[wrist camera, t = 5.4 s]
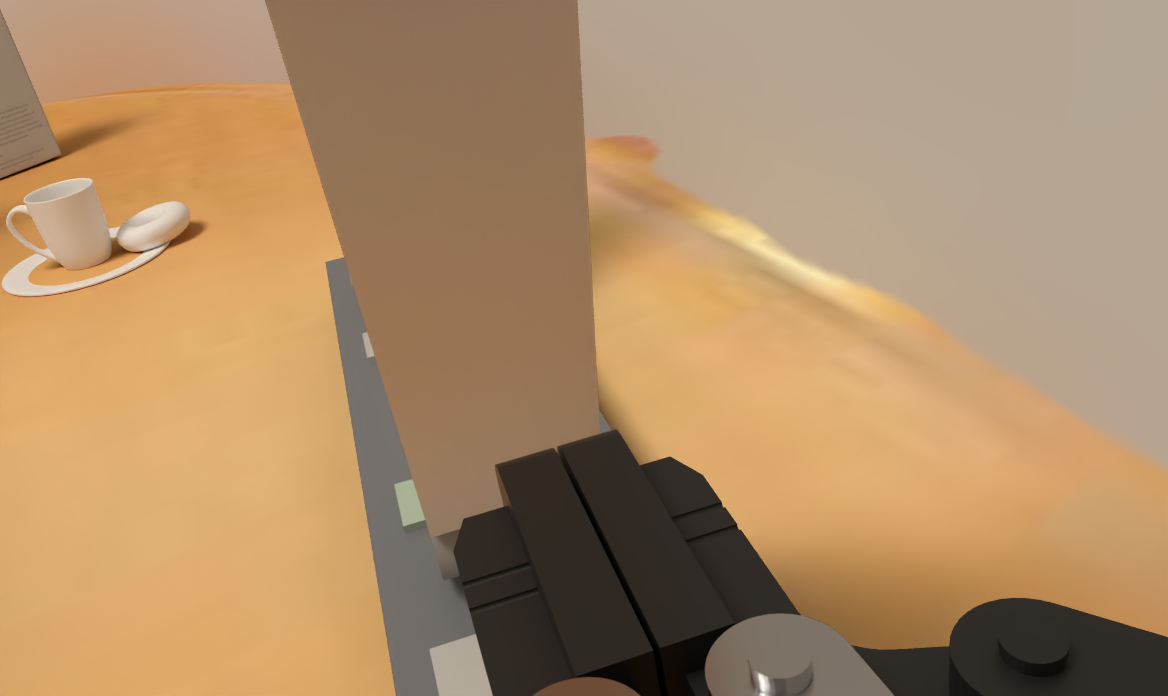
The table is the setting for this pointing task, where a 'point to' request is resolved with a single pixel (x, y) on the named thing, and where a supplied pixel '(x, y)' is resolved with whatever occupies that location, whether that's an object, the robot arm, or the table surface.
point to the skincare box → (20, 113)
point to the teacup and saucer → (87, 234)
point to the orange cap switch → (458, 224)
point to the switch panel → (403, 530)
